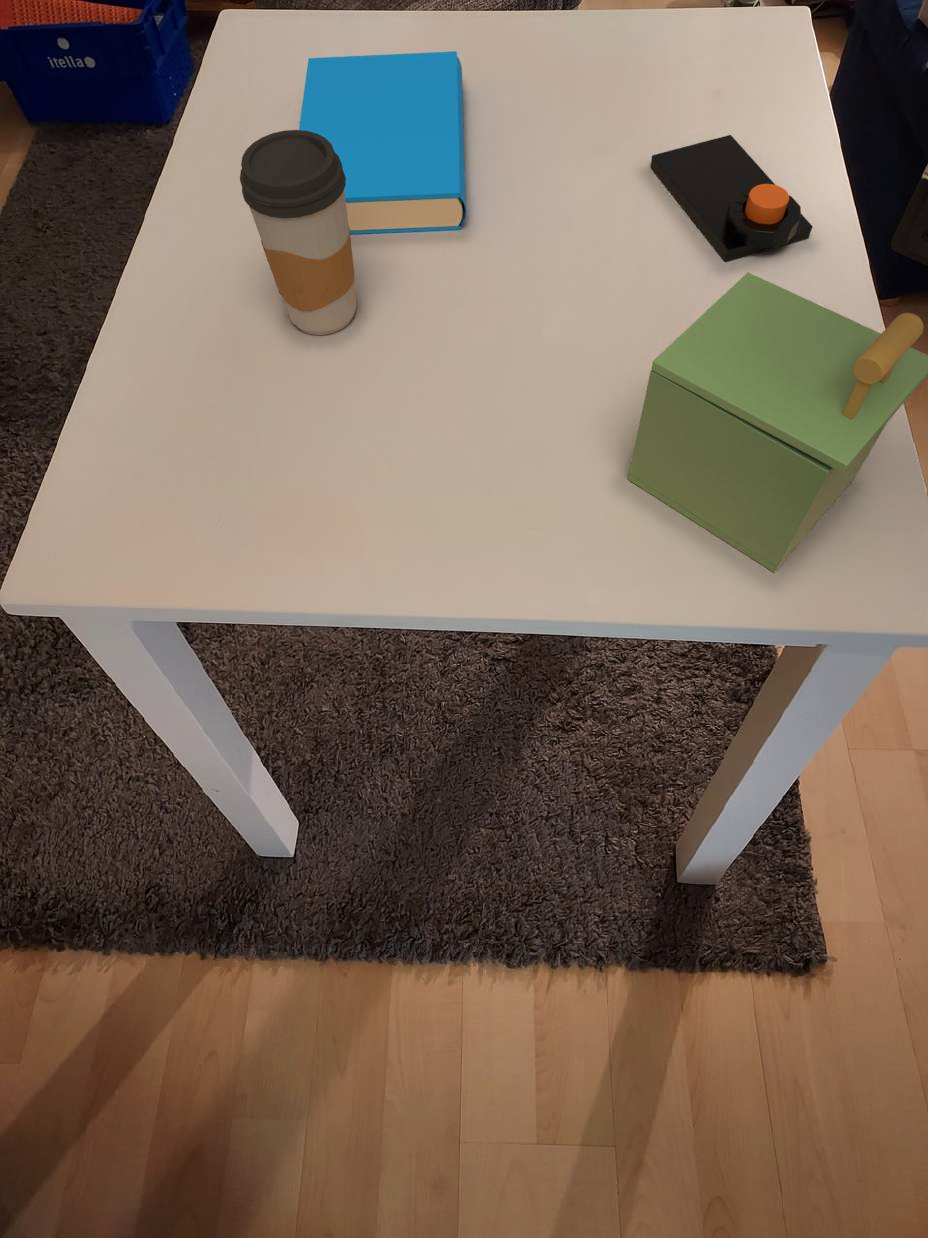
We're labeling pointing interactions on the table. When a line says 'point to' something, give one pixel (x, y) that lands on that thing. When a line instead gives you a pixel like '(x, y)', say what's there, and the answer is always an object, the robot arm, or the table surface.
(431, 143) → the book
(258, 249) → the table surface
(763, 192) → the button
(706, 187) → the button housing
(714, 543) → the table surface
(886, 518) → the table surface
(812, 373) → the lid
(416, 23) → the table surface
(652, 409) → the chest
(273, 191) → the coffee cup
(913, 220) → the robot arm
